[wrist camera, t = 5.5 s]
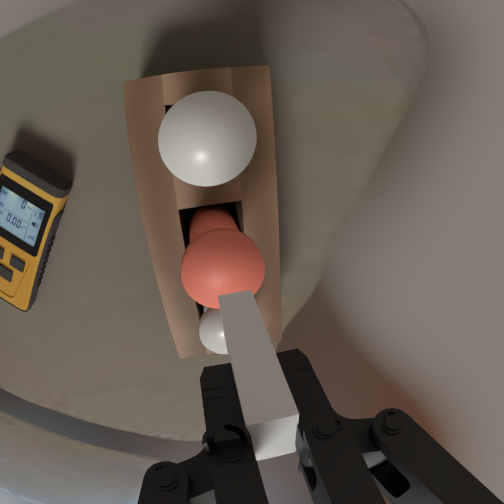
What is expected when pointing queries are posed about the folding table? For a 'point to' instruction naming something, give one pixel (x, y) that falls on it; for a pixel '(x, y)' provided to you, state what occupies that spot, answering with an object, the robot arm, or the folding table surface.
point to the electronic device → (27, 225)
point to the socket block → (204, 191)
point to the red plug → (219, 258)
